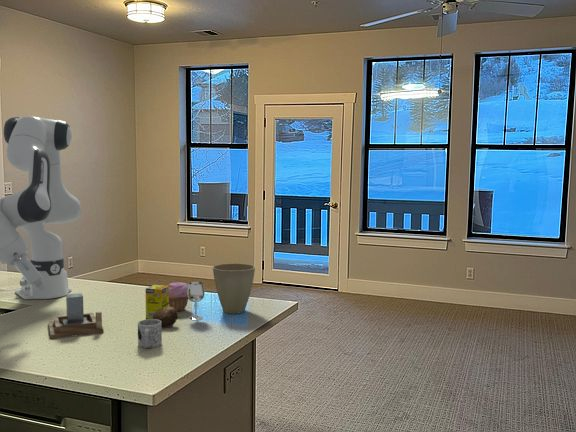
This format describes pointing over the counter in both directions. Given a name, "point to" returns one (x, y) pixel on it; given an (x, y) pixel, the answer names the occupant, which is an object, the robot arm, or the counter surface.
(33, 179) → the robot arm
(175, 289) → the cupcake
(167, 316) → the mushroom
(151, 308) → the supplement box
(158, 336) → the mug
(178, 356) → the counter surface
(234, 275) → the plant pot
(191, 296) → the wineglass
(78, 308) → the grey block on base
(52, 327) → the brown wooden square tray
